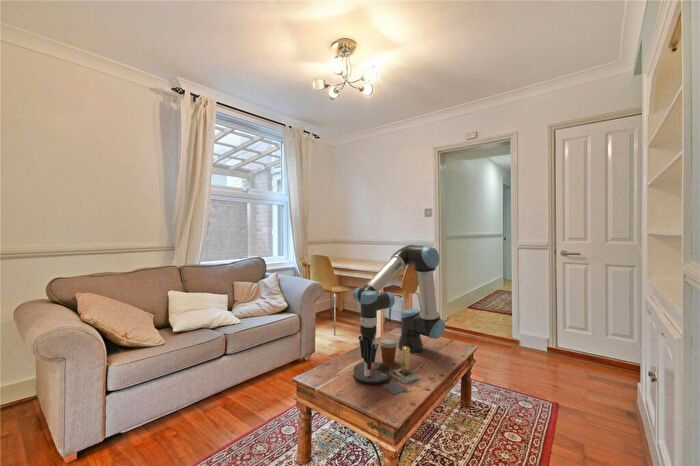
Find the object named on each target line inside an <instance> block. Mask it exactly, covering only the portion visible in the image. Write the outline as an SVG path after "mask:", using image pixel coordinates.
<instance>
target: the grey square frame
mask: <svg viewBox="0 0 700 466" xmlns="http://www.w3.org/2000/svg"><path fill="white" fill-rule="evenodd" d="M392 377H394V378H395V379H397V380H398V381H399V382H401V383H402V384H404V385H406V384H410V383H411V382H414V381H418V380H419V379H420V378H419V373H418V372H416V371H414V370H412V369H410V368H409V375H408V376H403V375H402V367H401V368H398V369H395V370H393V371H392Z"/></svg>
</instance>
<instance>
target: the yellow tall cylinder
mask: <svg viewBox="0 0 700 466" xmlns="http://www.w3.org/2000/svg"><path fill="white" fill-rule="evenodd" d="M410 354H411V352H410V347H408V346H402V350H401V368H402V375H403V376H408V375H409V369H410V361H411V359H410V357H411V355H410Z"/></svg>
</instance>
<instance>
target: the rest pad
mask: <svg viewBox="0 0 700 466" xmlns="http://www.w3.org/2000/svg"><path fill="white" fill-rule="evenodd" d="M382 387H383V388H384V389H385V390H387V391H388V392H389V393H390V394H392V395H393V396H395V395H398V394H400V393H404V392H405V391H408V388H406V387H405V386H403V385H402V384H400V383H399V382H398V381H393V382H389V383H387V384H384V385H382Z"/></svg>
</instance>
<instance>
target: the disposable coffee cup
mask: <svg viewBox="0 0 700 466" xmlns="http://www.w3.org/2000/svg"><path fill="white" fill-rule="evenodd" d="M379 345H380V351H381V360H382V361H381V363H382V364H384V365H386V366H393V365H395V359H396V351H397V347H398V342H397V340H396V339H395V338H390V337H384V338H381V339H380V341H379Z"/></svg>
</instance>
